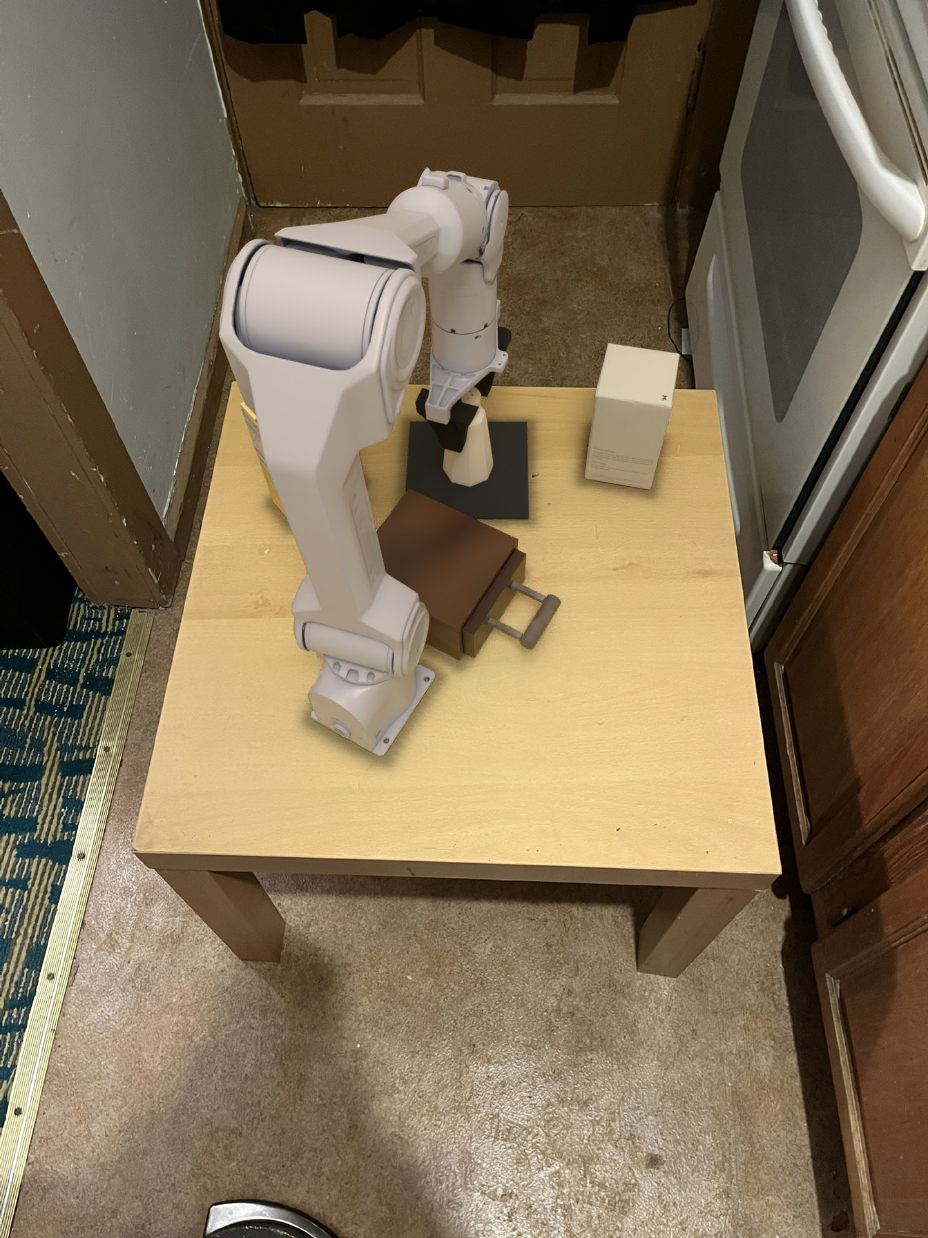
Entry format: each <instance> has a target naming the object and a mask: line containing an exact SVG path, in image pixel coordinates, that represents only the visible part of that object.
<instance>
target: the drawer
mask: <svg viewBox="0 0 928 1238" xmlns="http://www.w3.org/2000/svg"><path fill="white" fill-rule="evenodd" d="M526 565H527V553H526V552H524V551H522V550H520V549H519V548H518V549H515V550H514V552H513V553H512V555H511V556H510V558H509V559H508V561H507V562H506V564H505V565H504V567H503V568H501V570H500V571H499V573H498V574H497V576H496V577H495V579H494V580H493V582H492V583H491V585H490V586H489V588H488V589H487V591H486V592H485V594H484V595H483V597H482V598H481V600H480V601H479V603H478V605H477V606H476V608H475V609H474V611H473V612H472V614H471V615H470V617H469V618H468V620H467V621H466V623H465V624H464V626H463V627H462V632H463V652H464V653H465V655H467V656H470V657H472V658H476V656H477V655H478V653H479V651H480V650H481V648H482V647H483V645H484V644H485V642H486V640H487V639H488V638H489V636H490V634H491V633H492V631H493V629H496V630H498V631H499V632H501V633H504V634H506V635H507V636H510V637H512V638H513V639H516V640H517V641H518V642H519V644H520V645H521V647H523V648H524V649H526V650H530V651H533V650H534V649H535V648H536V646H537V644H538V642H539V641H540V639H541V638H542V636H543V635H544V633H545V631H546V629H547V628H548V626H549V625H550V622H552V620H553V618H554V616H555V615H556V613H557V611H558V609H559V608H560V606H561V605H562V600H561V599H560V598H559V597H558V596H556V595H554V594H551V593H549V594H547V595H544V594H542V593H540V592H538V591H536V590H534V589H532V588H530V587H528V586H526V585H523V583H524V581H525V577H526ZM516 593H520V594H522V595H524V596H526V597H528V598H530V599H532V600H534V601H537V602H539V603H540V604H541V605H540V606H539V608H538V610H537V611H536V613H535V614H534V616H533V617H532V618H531V621H530V622H529V624H528V625H527V627H526V629H525V631H524V632H523V631H522V632H521V631H520V630H518V629H515V628H514V627H511V626H510V625H507V624H505V623H503V622H502V621H500V618H501V617H502V615H503V614H504V612H505V611H506V609H507V607H508V606H509V605H510V603H511V601H512V599H513V598H514V596H516Z"/></svg>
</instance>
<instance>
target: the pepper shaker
mask: <svg viewBox="0 0 928 1238" xmlns="http://www.w3.org/2000/svg"><path fill="white" fill-rule="evenodd" d="M461 398H462V402H463V403H467V404H471V405H475V406H479V409H478V411H477V413H476V415H475V417H474V419H473V421H472V422H471V424H470V425H469V427H468V432H467V438H466V443H465V446H464V448H463V450H462V452H461V453H458V452H454V451H450V450H447V449H445V452H444V462H443V469H444V471H445V472H446V474H447V476H448V477H449V479H450V480H451V482H453V483H457V484H461V485H464V486H468V487H471V486H473V485H476V484H478V483H481V482H483V481H485V480H488V477H489V475H490V472H491V470H492V467H493V459H492V452H491V445H490V438H489V431H488V424H487V421H488V417H487V413H486V411H485V409H484V408H483V407H482V405H481V401H482V396H481V393H480V392H479V390H478V389H476V388H475V387H472V388H471V389H470V390H469V391H468V392H467V393H466V394H464V395H463V396H462V397H461Z"/></svg>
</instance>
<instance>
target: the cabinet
mask: <svg viewBox="0 0 928 1238" xmlns="http://www.w3.org/2000/svg"><path fill="white" fill-rule="evenodd" d="M405 491H406V490H405ZM376 532H377V536H378V540H379V545H380V549H381V554H382V558H383V563H384V567H385V571H386V573H387V574H388V575H390V576H391V577H393V578H394V579H396V580H398V581H399V582H401V583H402V584H404V585H406V586H407V587H409V588H410V589H412V590H413V591H415V592H416V593H417V594H418V596H419V601H420V602H423V603H424V604H425V606H426V609H427V611H428V613H429V628H428V633H427V638H426V642H425V645H426V644H427V645H428V646H431V647H432V648H434V649H436V650H438V651H440V652H442V653H444V654H446V655H448V656H449V657H452V658H454V659H456V660H458V661H461V660H462V659H463V658H464V656H465V655H466V653H464V652H463V632H462V627H463V626H464V624H465V623H466V621H467V620H468V618H469V617H470V615H471V614H472V612H473V611H474V609H475V608H476V606H477V605H478V603H479V601H480V600H481V598H482V597H483V595H484V594H485V592H486V591H487V589H488V588H489V586H490V585H491V583H492V582H493V580H494V579H495V577H496V576H497V574H498V573H499V571H500V570H501V568H503V567H504V565H505V564H506V562H507V561H508V559H509V558H510V556H511V555H512V553H513V552H514V550H515V549H518V550H519V538H517V537H515V536H513V535H511V534H509V533H506V532H504V531H502V530H500V529H497V528H495V527H493V526H491V525H488V524H487V523H484V522H483V521H481V520H479V519H474V518H472V517H470V516H467V515H465V514H463V513H461V512H459V511H457V510H454V509H452V508H450V507H448V506H446V505H444V504H441V503H439V502H437V501H435V500H433V499H431V498H428V497H426V496H424V495H422V494H420V493H418V492H415V491H413V490H411V489H408V490H407V491H406V493H404V494H403V495H402V497H401V498H400V499H399V501H398V502H397V503H396V505H395V506H394V507H393V508H392V510H391V511H390V512H389V514H388V515H387V517H386V518H385V519H384V521H383V522H382V523H381V524H380V526H379V527H378V528H377V529H376Z"/></svg>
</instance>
